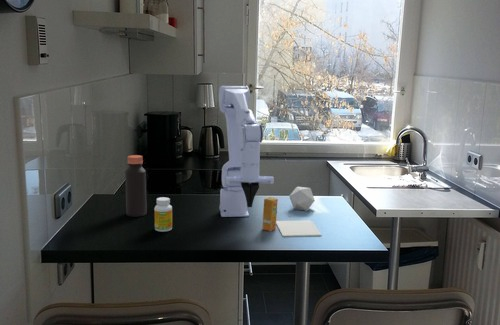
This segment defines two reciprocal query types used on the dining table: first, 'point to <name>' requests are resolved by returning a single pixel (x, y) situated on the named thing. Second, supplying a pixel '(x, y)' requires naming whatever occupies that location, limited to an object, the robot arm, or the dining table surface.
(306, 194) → the die
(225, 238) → the dining table surface
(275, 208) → the supplement box
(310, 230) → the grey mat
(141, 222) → the dining table surface
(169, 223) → the supplement bottle
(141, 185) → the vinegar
